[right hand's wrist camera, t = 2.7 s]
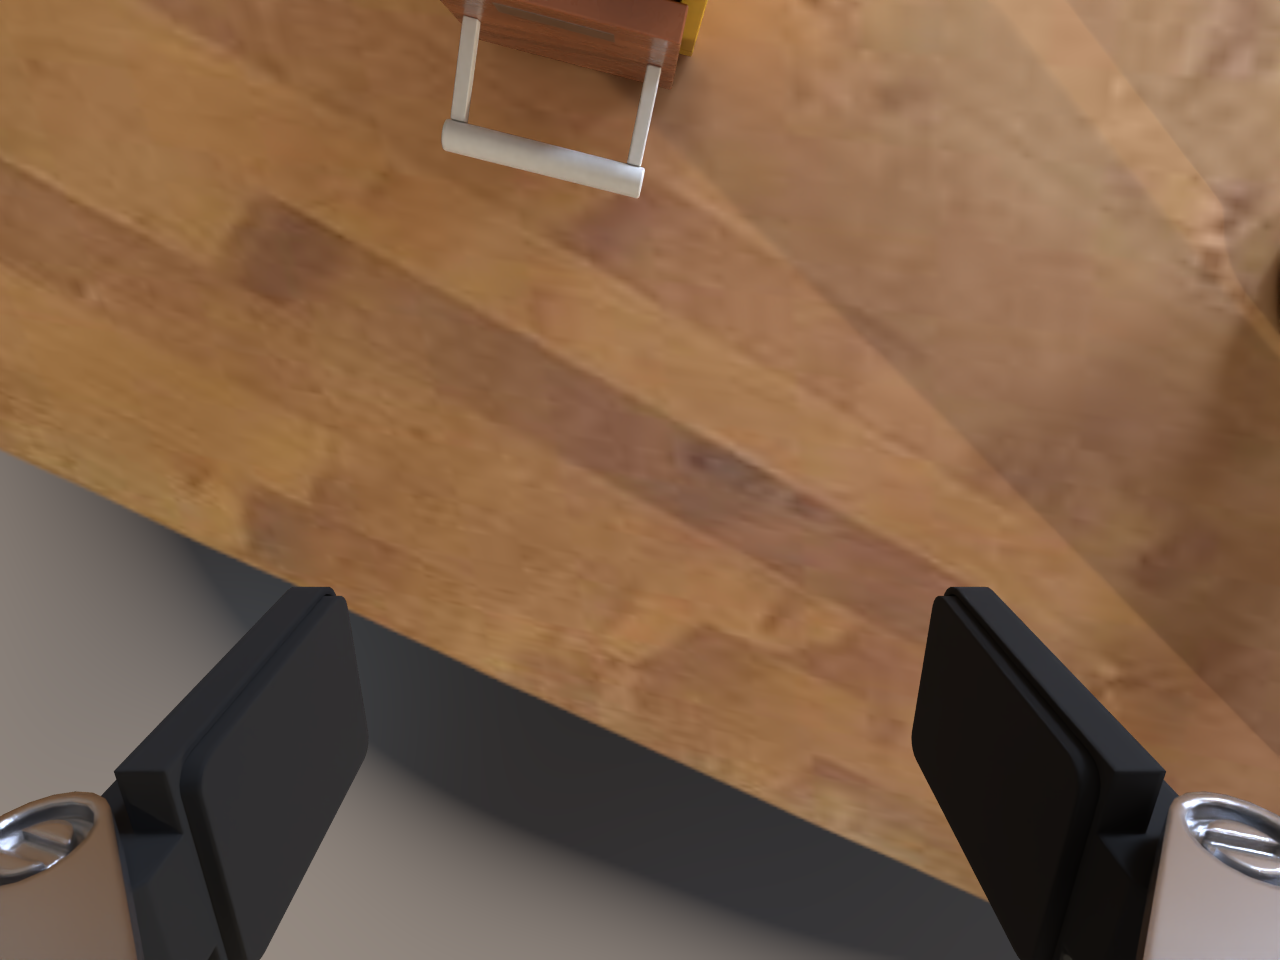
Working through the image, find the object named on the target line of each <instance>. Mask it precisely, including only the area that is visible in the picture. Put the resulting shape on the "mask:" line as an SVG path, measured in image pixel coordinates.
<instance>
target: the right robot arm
mask: <svg viewBox="0 0 1280 960" xmlns="http://www.w3.org/2000/svg"><path fill="white" fill-rule="evenodd" d="M367 748H368V729H367V723H366V717H365V711H364V705H363V699H362V692H361V686H360V680H359V674H358V668H357V662H356V656H355V650H354V644H353V638H352V632H351V626H350V619H349V613H348V607H347V603H346V600H345V598H344V597H342V596H336V594H335V592H334V590H333V589H332V588H330V587H292V588H290V589H289V590H288V591H287V592H286V593H285V594H284V595H283V596H282V597H281V598H280V599H279V600H278V601H277V602H276V603H275V604H274V605H273V606H272V607H271V608H270V609H269V610H268V611H267V612H266V613H265V615H264V616H263V617H262V618H261V619H260V620H259V621H258V622H257V623H256V624H255V625H254V626H253V627H252V628H251V629H250V630H249V631H248V632H247V633H246V634H245V635H244V636H243V637H242V638H241V640H240V641H239V642H238V643H237V644H236V645H235V646H234V647H233V648H232V649H231V650H230V651H229V652H228V653H227V654H226V655H225V656H224V657H223V658H222V659H221V660H220V661H219V663H218V664H217V665H216V666H215V667H214V668H213V669H212V670H211V671H210V672H209V673H208V674H207V675H206V676H205V677H204V678H203V679H202V680H201V681H200V682H199V683H198V684H197V685H196V686H195V687H194V688H193V689H192V691H191V692H190V693H189V694H188V695H187V696H186V697H185V698H184V699H183V700H182V701H181V702H180V703H179V704H178V705H177V706H176V707H175V708H174V709H173V710H172V711H171V712H170V713H169V714H168V715H167V717H166V718H165V719H164V720H163V721H162V722H161V723H160V724H159V725H158V726H157V727H156V728H155V729H154V730H153V731H152V732H151V733H150V734H149V735H148V736H147V737H146V738H145V739H144V741H143V742H142V743H141V744H140V745H139V746H138V747H137V748H136V749H135V750H134V751H133V752H132V753H131V754H130V755H129V756H128V757H127V758H126V759H125V760H124V761H123V762H122V763H121V764H120V766H119V767H118V768H117V769H116V770H115V771H114V773H115V776H116V779H117V780H116V781H115V782H114V783H113V784H112V785H111V786H110V787H109V788H108V789H107V790H106V791H105V792H104V793H103V795H102V796H99V795H97V794H95V793H89V792H69V793H63V794H56V795H52V796H48V797H45V798H42V799H39V800H36V801H33V802H29V803H27V804H25V805H23V806H21V807H18V808H16V809H14V810H12V811H10V812H8V813H5V814H3V815H2V816H0V960H260V959H261V957H262V956H263V954H264V952H265V951H266V949H267V947H268V945H269V943H270V941H271V939H272V937H273V935H274V933H275V931H276V929H277V927H278V925H279V923H280V921H281V920H282V918H283V916H284V914H285V912H286V910H287V908H288V906H289V904H290V902H291V900H292V898H293V896H294V894H295V892H296V890H297V889H298V887H299V885H300V883H301V881H302V879H303V877H304V875H305V873H306V871H307V869H308V867H309V865H310V863H311V861H312V859H313V858H314V856H315V854H316V852H317V850H318V848H319V846H320V844H321V842H322V840H323V838H324V836H325V834H326V832H327V830H328V828H329V826H330V825H331V823H332V821H333V819H334V817H335V815H336V813H337V811H338V809H339V807H340V805H341V803H342V801H343V799H344V797H345V795H346V793H347V791H348V790H349V787H350V786H351V784H352V782H353V780H354V778H355V776H356V774H357V772H358V770H359V768H360V766H361V764H362V762H363V760H364V758H365V756H366V752H367ZM912 748H913V752H914V756H915V758H916V760H917V762H918V764H919V766H920V768H921V770H922V772H923V774H924V776H925V778H926V780H927V782H928V784H929V786H930V788H931V790H932V792H933V793H934V795H935V797H936V799H937V801H938V803H939V805H940V807H941V809H942V811H943V813H944V815H945V817H946V819H947V821H948V823H949V825H950V826H951V828H952V830H953V832H954V834H955V836H956V838H957V840H958V842H959V844H960V846H961V848H962V850H963V852H964V854H965V856H966V858H967V859H968V861H969V863H970V865H971V867H972V869H973V871H974V873H975V875H976V877H977V879H978V881H979V883H980V885H981V887H982V889H983V891H984V892H985V894H986V896H987V898H988V900H989V902H990V904H991V906H992V908H993V910H994V912H995V914H996V916H997V917H998V920H999V922H1000V924H1001V925H1002V927H1003V929H1004V931H1005V933H1006V935H1007V937H1008V939H1009V941H1010V943H1011V945H1012V947H1013V949H1014V951H1015V952H1016V954H1017V956H1018V957H1019V959H1020V960H1280V816H1278V815H1277V814H1275V813H1272V812H1270V811H1268V810H1266V809H1264V808H1262V807H1259V806H1257V805H1255V804H1253V803H1251V802H1248V801H1244V800H1241V799H1238V798H1235V797H1232V796H1228V795H1224V794H1217V793H1211V792H1191V793H1185V794H1183V795H1181V796H1178V794H1177V793H1176V792H1175V791H1174V790H1173V789H1172V788H1171V787H1170V786H1169V785H1168V784H1167V783H1166V782H1165V781H1164V780H1163V779H1164V776H1165V773H1166V771H1165V770H1164V769H1163V768H1162V767H1161V765H1160V764H1159V763H1158V762H1157V761H1156V760H1155V759H1154V758H1153V757H1152V756H1151V755H1150V754H1149V753H1148V752H1147V751H1146V750H1145V749H1144V748H1143V747H1142V746H1141V745H1140V744H1139V743H1138V742H1137V740H1136V739H1135V738H1134V737H1133V736H1132V735H1131V734H1130V733H1129V732H1128V731H1127V730H1126V729H1125V728H1124V727H1123V726H1122V725H1121V724H1120V723H1119V722H1118V721H1117V720H1116V719H1115V718H1114V717H1113V715H1112V714H1111V713H1110V712H1109V711H1108V710H1107V709H1106V708H1105V707H1104V706H1103V705H1102V704H1101V703H1100V702H1099V701H1098V700H1097V699H1096V698H1095V697H1094V696H1093V695H1092V694H1091V693H1090V692H1089V691H1088V689H1087V688H1086V687H1085V686H1084V685H1083V684H1082V683H1081V682H1080V681H1079V680H1078V679H1077V678H1076V677H1075V676H1074V675H1073V674H1072V673H1071V672H1070V671H1069V670H1068V669H1067V668H1066V667H1065V666H1064V664H1063V663H1062V662H1061V661H1060V660H1059V659H1058V658H1057V657H1056V656H1055V655H1054V654H1053V653H1052V652H1051V651H1050V650H1049V649H1048V648H1047V647H1046V646H1045V645H1044V644H1043V643H1042V642H1041V641H1040V639H1039V638H1038V637H1037V636H1036V635H1035V634H1034V633H1033V632H1032V631H1031V630H1030V629H1029V628H1028V627H1027V626H1026V625H1025V624H1024V623H1023V622H1022V621H1021V620H1020V619H1019V618H1018V617H1017V616H1016V615H1015V613H1014V612H1013V611H1012V610H1011V609H1010V608H1009V607H1008V606H1007V605H1006V604H1005V603H1004V602H1003V601H1002V600H1001V599H1000V598H999V597H998V596H997V595H996V594H995V593H994V592H993V591H992V590H991V589H990V588H988V587H950V588H948V589H947V590H946V592H945V594H944V596H938V597H936V598H935V600H934V603H933V607H932V613H931V619H930V625H929V631H928V638H927V644H926V650H925V656H924V662H923V668H922V674H921V680H920V686H919V692H918V698H917V705H916V711H915V717H914V723H913V729H912Z"/></svg>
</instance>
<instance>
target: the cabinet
mask: <svg viewBox="0 0 1280 960" xmlns="http://www.w3.org/2000/svg"><path fill="white" fill-rule="evenodd" d="M673 1H677V2H681V3H684V4H687V5H688V7H689V8H688V13H687V18H686V23H685V27H684V32H683V37H682V42H681V46H680V51H679V54H683V55H687V56H692V53H693V49H694V46H695V42H696V39H697V36H698V32H699V29H700V25H701V22H702V18H703V15H704V11H705V8H706V4H707V1H708V0H673Z"/></svg>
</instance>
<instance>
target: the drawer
mask: <svg viewBox="0 0 1280 960" xmlns="http://www.w3.org/2000/svg"><path fill="white" fill-rule="evenodd" d="M441 2H442V3H443V4H444V5H445V6H446V7H447V8H448V9H449V10H450V11H451V12H452V14H453V15H454V16H455V17H456V18H457V19H458V20H459V21H460V22H461V23H462V28H461V36H460V44H459V53H458V61H457V69H456V77H455V85H454V93H453V101H452V110H451V119H446V121H445V122H444V125H443V129H442V138H441V140H442V147H443V149H444V150H445V151H449V152H453V153H457V154H461V155H465V156H469V157H473V158H477V159H481V160H485V161H489V162H493V163H497V164H501V165H505V166H509V167H513V168H517V169H521V170H525V171H529V172H533V173H537V174H541V175H545V176H549V177H553V178H557V179H561V180H565V181H569V182H573V183H577V184H581V185H585V186H589V187H593V188H597V189H601V190H605V191H609V192H613V193H618V194H622V195H626V196H630V197H634V198H639V195H640V191H641V187H642V182H643V177H644V172H645V169H644V168H642V167H641V164H642V159H643V154H644V150H645V145H646V140H647V135H648V131H649V126H650V121H651V116H652V112H653V107H654V102H655V98H656V93H657V88H658V86H659V87H663V88H667V89H671V88H672V84H673V79H674V74H675V70H676V65H677V61H678V56H679V51H680V46H681V42H682V37H683V32H684V27H685V23H686V18H687V13H688V8H689V7H688V5H687V4H684V3H681V2H677V1H673V0H441ZM478 40H483V41H487V42H491V43H494V44H498V45H502V46H506V47H510V48H514V49H517V50H521V51H525V52H529V53H533V54H537V55H540V56H544V57H548V58H552V59H556V60H560V61H563V62H567V63H571V64H575V65H579V66H582V67H586V68H590V69H594V70H598V71H602V72H605V73H609V74H613V75H617V76H621V77H625V78H628V79H632V80H636V81H640V82H643V87H642V92H641V97H640V101H639V106H638V111H637V116H636V121H635V126H634V131H633V136H632V140H631V145H630V150H629V155H628V160H627V163H628V164H626V163H622V162H618V161H614V160H610V159H606V158H603V157H599V156H595V155H591V154H587V153H583V152H579V151H575V150H571V149H567V148H563V147H559V146H555V145H551V144H547V143H543V142H539V141H535V140H531V139H527V138H523V137H519V136H515V135H511V134H507V133H503V132H499V131H495V130H491V129H488V128H484V127H480V126H476V125H472V124H468V117H469V109H470V101H471V94H472V86H473V78H474V71H475V63H476V55H477V48H478ZM452 119H453V120H452Z"/></svg>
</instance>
